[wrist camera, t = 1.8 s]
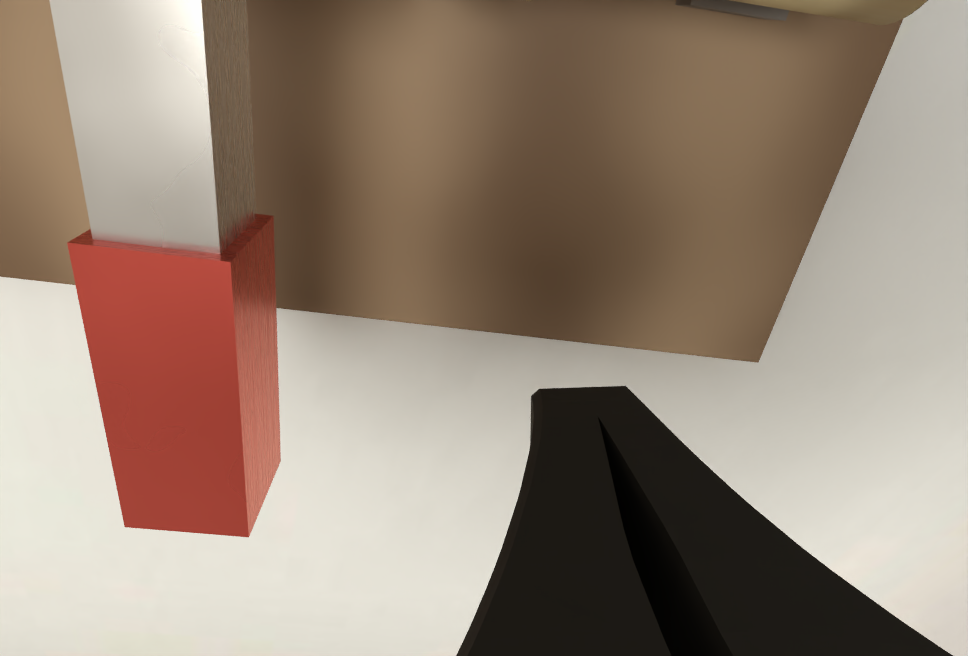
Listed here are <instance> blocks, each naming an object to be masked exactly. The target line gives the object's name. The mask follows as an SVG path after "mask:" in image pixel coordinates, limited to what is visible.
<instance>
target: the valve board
mask: <svg viewBox="0 0 968 656" xmlns="http://www.w3.org/2000/svg"><path fill="white" fill-rule="evenodd" d="M926 1H928V0H247V9H248V33H249V56H250V79H251V103H252V126H253V150H254V173H255V196H256V214H263V215H271V216H274V248H275V283H276V308H283V309H292V310H301V311H309V312H318V313H327V314H336V315H345V316H353V317H362V318H371V319H380V320H389V321H397V322H406V323H415V324H424V325H433V326H441V327H450V328H459V329H468V330H477V331H485V332H494V333H503V334H512V335H521V336H529V337H538V338H547V339H556V340H565V341H573V342H582V343H591V344H600V345H609V346H618V347H626V348H635V349H644V350H653V351H662V352H670V353H679V354H688V355H697V356H706V357H714V358H723V359H732V360H741V361H750V362H759V360H760V357H761V355H762V352H763V350H764V348H765V345H766V343H767V341H768V338H769V336H770V333H771V331H772V329H773V326H774V324H775V322H776V319H777V317H778V314H779V312H780V310H781V307H782V305H783V303H784V300H785V298H786V295H787V293H788V291H789V288H790V286H791V284H792V281H793V279H794V277H795V274H796V272H797V269H798V267H799V265H800V262H801V260H802V258H803V255H804V253H805V250H806V248H807V246H808V243H809V241H810V239H811V236H812V234H813V231H814V229H815V227H816V224H817V222H818V220H819V217H820V215H821V212H822V210H823V208H824V205H825V203H826V201H827V198H828V196H829V193H830V191H831V189H832V186H833V184H834V182H835V179H836V177H837V175H838V172H839V170H840V167H841V165H842V163H843V160H844V158H845V156H846V153H847V151H848V148H849V146H850V144H851V141H852V139H853V137H854V134H855V132H856V129H857V127H858V125H859V122H860V120H861V118H862V115H863V113H864V110H865V108H866V106H867V103H868V101H869V99H870V96H871V94H872V92H873V89H874V87H875V84H876V82H877V80H878V77H879V75H880V73H881V70H882V68H883V65H884V63H885V61H886V58H887V56H888V54H889V51H890V49H891V46H892V44H893V42H894V39H895V37H896V35H897V32H898V30H899V27H900V25H901V23H902V20H903V18H905V17H907V16H908V15H910V14H912V13H913V12H914V11H916V10H917V9H918V8H920V7H921V6H922V5H923V4H924V3H925V2H926ZM89 229H91V228H90V222H89V217H88V211H87V206H86V200H85V195H84V189H83V183H82V178H81V172H80V167H79V161H78V156H77V150H76V145H75V139H74V134H73V128H72V123H71V117H70V112H69V106H68V101H67V95H66V90H65V84H64V79H63V73H62V68H61V62H60V57H59V51H58V46H57V40H56V35H55V29H54V23H53V18H52V12H51V7H50V1H49V0H0V276H1V277H10V278H19V279H28V280H36V281H45V282H54V283H63V284H72V285H76V284H75V279H74V274H73V270H72V265H71V260H70V255H69V250H68V245H67V242H69V241H71V240H72V239H74V238H76V237H77V236H79V235H81V234H83V233H84V232H86V231H88V230H89Z"/></svg>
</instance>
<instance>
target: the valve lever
mask: <svg viewBox="0 0 968 656" xmlns="http://www.w3.org/2000/svg"><path fill="white" fill-rule="evenodd" d="M49 1H50V7H51V12H52V18H53V23H54V29H55V35H56V40H57V46H58V51H59V57H60V62H61V68H62V73H63V79H64V84H65V90H66V95H67V101H68V106H69V112H70V117H71V123H72V128H73V134H74V139H75V145H76V150H77V156H78V161H79V167H80V172H81V178H82V183H83V189H84V195H85V200H86V206H87V211H88V217H89V222H90V228H91V229H89V230H88V231H86V232H84V233H83V234H81V235H79V236H77V237H76V238H74V239H72V240H71V241H69V242H67V245H68V250H69V255H70V260H71V265H72V270H73V274H74V279H75V284H76V289H77V294H78V299H79V304H80V309H81V314H82V319H83V324H84V329H85V333H86V338H87V343H88V348H89V353H90V358H91V363H92V368H93V373H94V378H95V383H96V388H97V392H98V397H99V402H100V407H101V412H102V417H103V422H104V427H105V432H106V437H107V442H108V447H109V452H110V456H111V461H112V466H113V471H114V476H115V481H116V486H117V491H118V496H119V501H120V506H121V511H122V515H123V520H124V525H125V527H131V528H143V529H155V530H167V531H180V532H192V533H204V534H216V535H228V536H241V537H249V536H250V533H251V531H252V528H253V526H254V524H255V521H256V519H257V516H258V514H259V512H260V509H261V507H262V504H263V502H264V500H265V497H266V495H267V492H268V490H269V487H270V485H271V483H272V480H273V478H274V475H275V473H276V471H277V468H278V466H279V463H280V461H281V458H280V423H279V388H278V353H277V318H276V283H275V248H274V216H271V215H263V214H256V196H255V173H254V150H253V126H252V103H251V79H250V56H249V33H248V9H247V0H49Z"/></svg>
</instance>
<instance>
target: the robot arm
mask: <svg viewBox="0 0 968 656" xmlns="http://www.w3.org/2000/svg"><path fill="white" fill-rule="evenodd" d="M457 656H953V655H951V654H950V653H948V652H947V651H945V650H943V649H942V648H940V647H939V646H937V645H936V644H935V643H933V642H932V641H930V640H929V639H927V638H926V637H924V636H923V635H921V634H920V633H918V632H917V631H915V630H914V629H912V628H911V627H909V626H908V625H907V624H905V623H904V622H902V621H901V620H899V619H898V618H896V617H895V616H894V615H892V614H891V613H889V612H888V611H887V610H885V609H884V608H883V607H881V606H880V605H878V604H877V603H876V602H874V601H873V600H872V599H870V598H869V597H867V596H866V595H865V594H863V593H862V592H860V591H859V590H858V589H856V588H855V587H854V586H852V585H851V584H849V583H848V582H847V581H845V580H844V579H843V578H841V577H840V576H838V575H837V574H836V573H834V572H833V571H832V570H830V569H829V568H828V567H826V566H825V565H824V564H822V563H821V562H820V561H819V560H817V559H816V558H815V557H813V556H812V555H811V554H809V553H808V552H807V551H806V550H804V549H803V548H802V547H801V546H799V545H798V544H797V543H796V542H794V541H793V540H792V539H791V538H790V537H788V536H787V535H786V534H785V533H783V532H782V531H781V530H780V529H779V528H777V527H776V526H775V525H774V524H773V523H771V522H770V521H769V520H768V519H767V518H765V517H764V516H763V515H762V514H760V513H759V512H758V511H757V510H756V509H754V508H753V507H752V506H751V505H750V504H749V503H748V502H746V501H745V500H744V499H743V498H742V497H741V496H740V495H738V494H737V493H736V492H735V491H734V490H733V489H732V488H730V487H729V486H728V485H727V484H726V483H725V482H724V481H723V480H722V479H721V478H720V477H719V476H717V475H716V474H715V473H714V472H713V471H712V470H711V469H710V468H709V467H708V466H707V465H705V464H704V463H703V462H702V461H701V460H700V459H699V458H698V457H697V456H696V455H695V454H694V453H693V452H692V451H691V450H690V449H689V448H688V447H687V446H686V445H685V444H683V443H682V442H681V441H680V440H679V439H678V438H677V437H676V436H675V435H674V434H673V433H672V432H671V431H670V430H669V429H668V428H667V427H666V426H665V425H664V424H663V423H662V422H661V421H660V420H659V419H658V418H657V417H656V416H655V415H654V414H653V413H652V412H651V411H650V410H649V409H648V408H647V407H646V406H645V405H644V404H643V403H642V402H641V401H640V400H639V399H638V398H637V397H636V396H635V395H634V394H633V393H632V392H631V391H630V390H629V389H628V388H627V387H626V386H613V387H583V388H553V389H539V390H538V391H537V392H535V393H534V394H533V395H532V396H531V443H530V451H529V456H528V460H527V464H526V468H525V473H524V477H523V481H522V485H521V490H520V493H519V497H518V500H517V503H516V507H515V510H514V513H513V516H512V519H511V522H510V525H509V528H508V531H507V534H506V537H505V540H504V543H503V546H502V549H501V552H500V555H499V557H498V560H497V563H496V565H495V568H494V571H493V573H492V576H491V578H490V581H489V583H488V586H487V588H486V591H485V593H484V595H483V598H482V600H481V602H480V605H479V607H478V610H477V612H476V614H475V617H474V619H473V621H472V623H471V626H470V628H469V630H468V632H467V634H466V637H465V639H464V641H463V643H462V645H461V647H460V649H459V651H458V653H457Z"/></svg>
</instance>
